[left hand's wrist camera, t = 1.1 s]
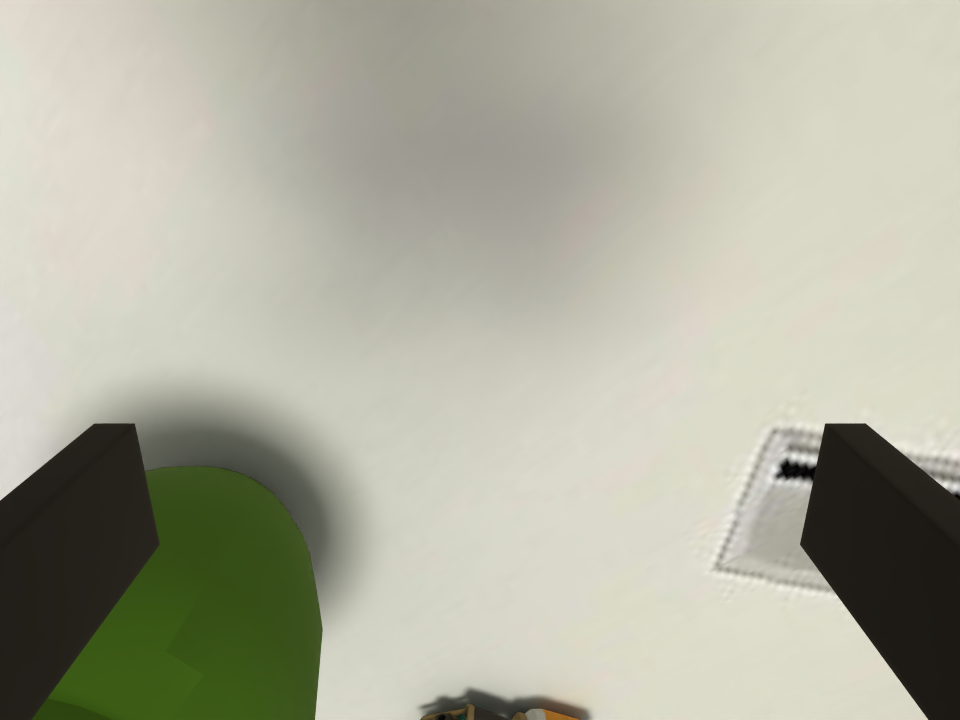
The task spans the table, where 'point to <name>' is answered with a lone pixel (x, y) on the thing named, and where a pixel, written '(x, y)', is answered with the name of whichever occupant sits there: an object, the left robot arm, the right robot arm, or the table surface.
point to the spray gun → (476, 716)
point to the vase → (206, 614)
